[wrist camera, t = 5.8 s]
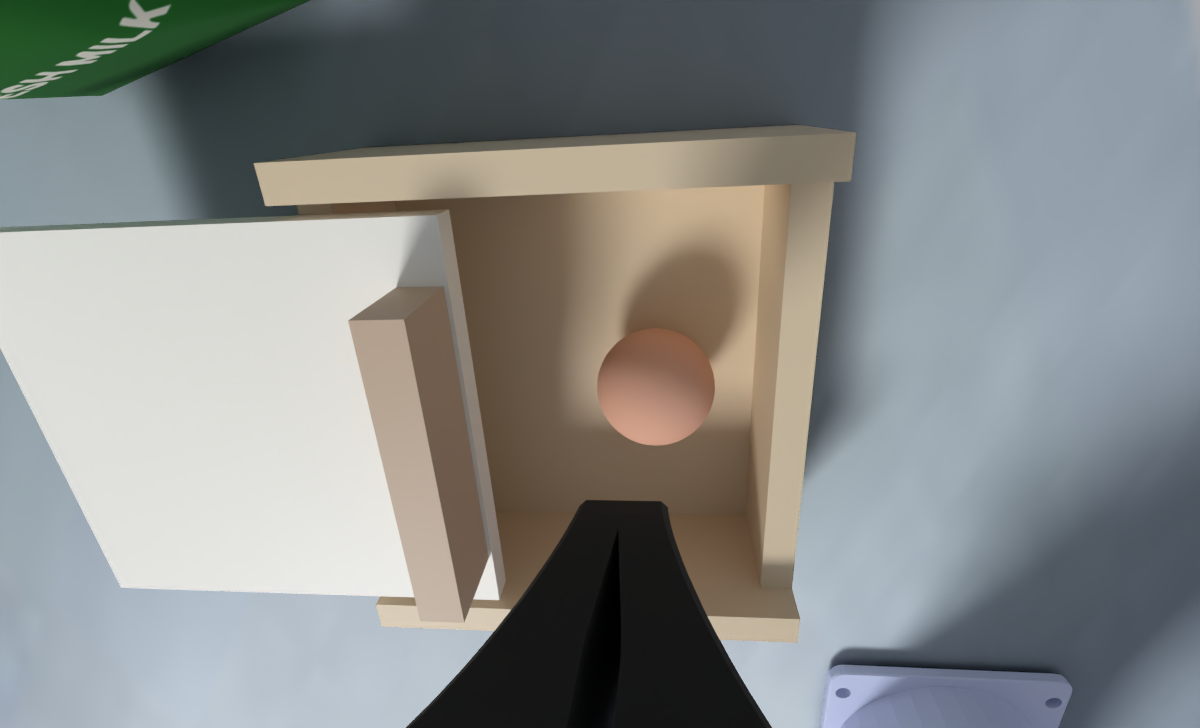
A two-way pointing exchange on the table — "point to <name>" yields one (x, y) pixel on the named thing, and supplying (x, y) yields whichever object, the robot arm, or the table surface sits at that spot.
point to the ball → (656, 386)
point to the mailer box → (626, 331)
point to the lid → (262, 401)
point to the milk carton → (111, 40)
